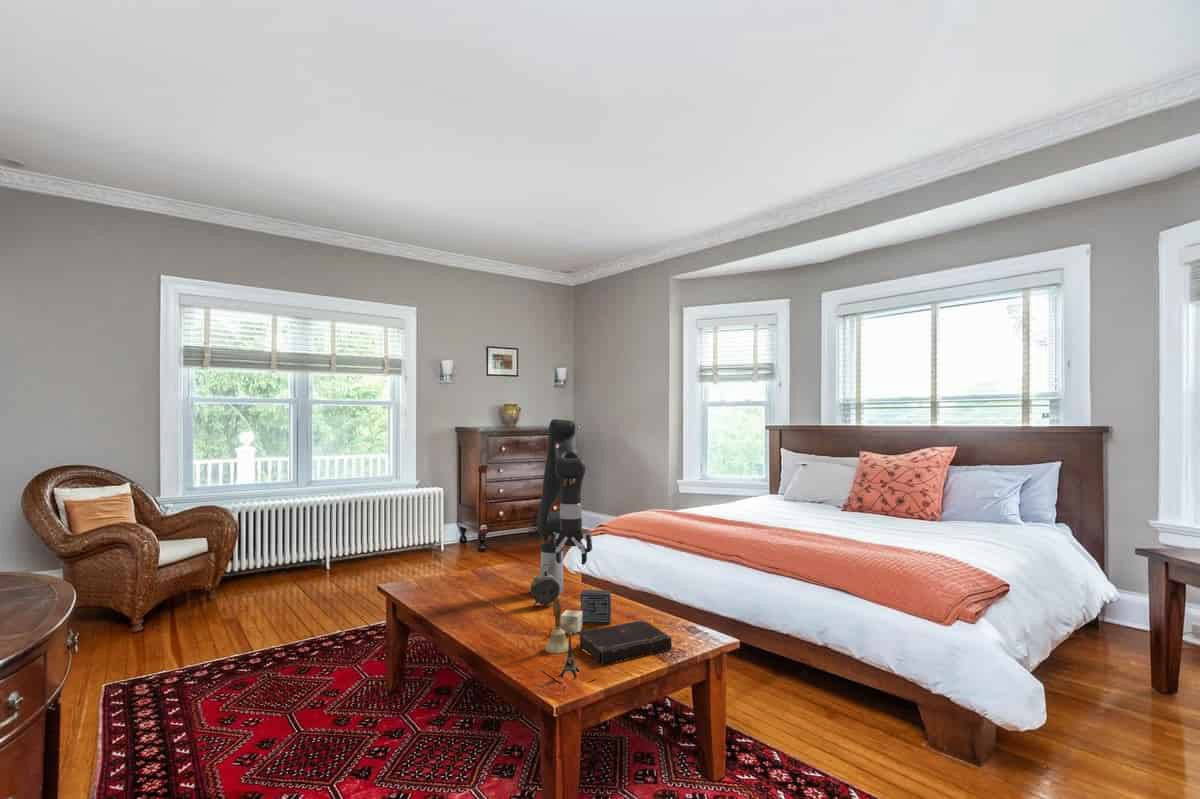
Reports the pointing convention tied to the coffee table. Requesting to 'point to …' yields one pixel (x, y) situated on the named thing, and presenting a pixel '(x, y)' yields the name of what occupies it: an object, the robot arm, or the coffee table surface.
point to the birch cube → (571, 621)
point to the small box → (596, 606)
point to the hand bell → (557, 633)
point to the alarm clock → (545, 588)
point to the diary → (623, 641)
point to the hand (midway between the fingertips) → (571, 563)
